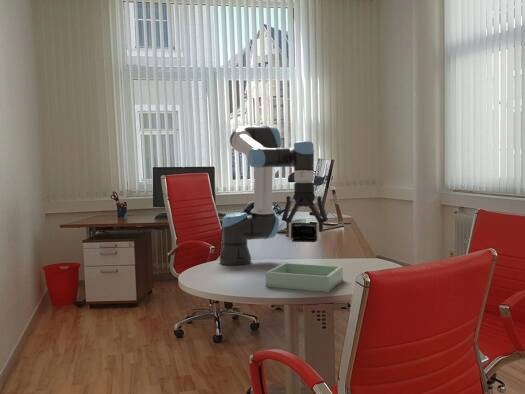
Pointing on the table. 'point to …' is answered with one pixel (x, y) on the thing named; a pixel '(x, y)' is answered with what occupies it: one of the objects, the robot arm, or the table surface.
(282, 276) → the walled box
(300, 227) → the end cap
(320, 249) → the table surface
